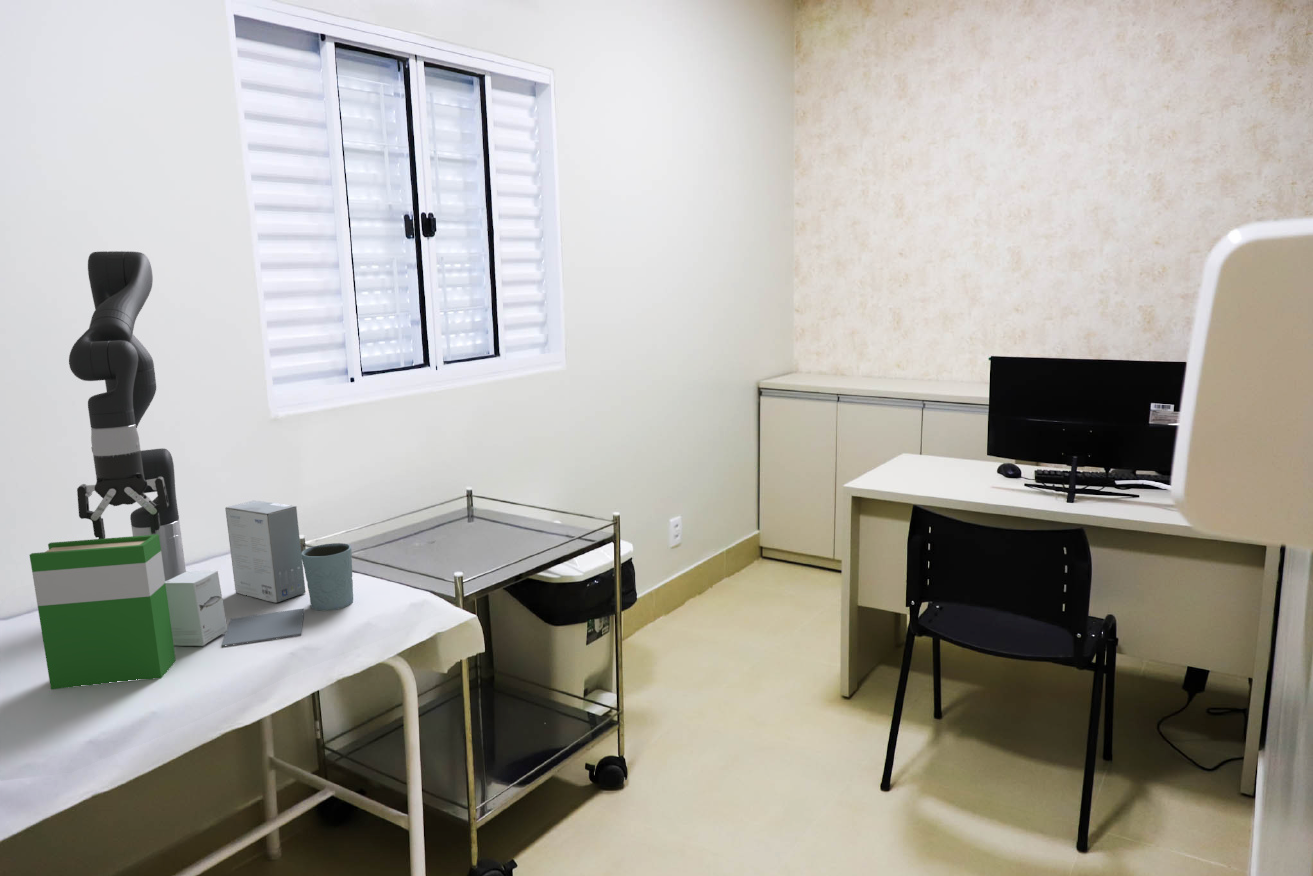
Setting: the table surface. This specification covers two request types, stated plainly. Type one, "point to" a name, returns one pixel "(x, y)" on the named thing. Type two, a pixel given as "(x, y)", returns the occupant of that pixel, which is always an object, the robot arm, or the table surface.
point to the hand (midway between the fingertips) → (128, 536)
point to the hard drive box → (265, 550)
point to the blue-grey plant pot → (329, 575)
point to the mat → (264, 627)
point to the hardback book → (103, 610)
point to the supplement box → (195, 608)
